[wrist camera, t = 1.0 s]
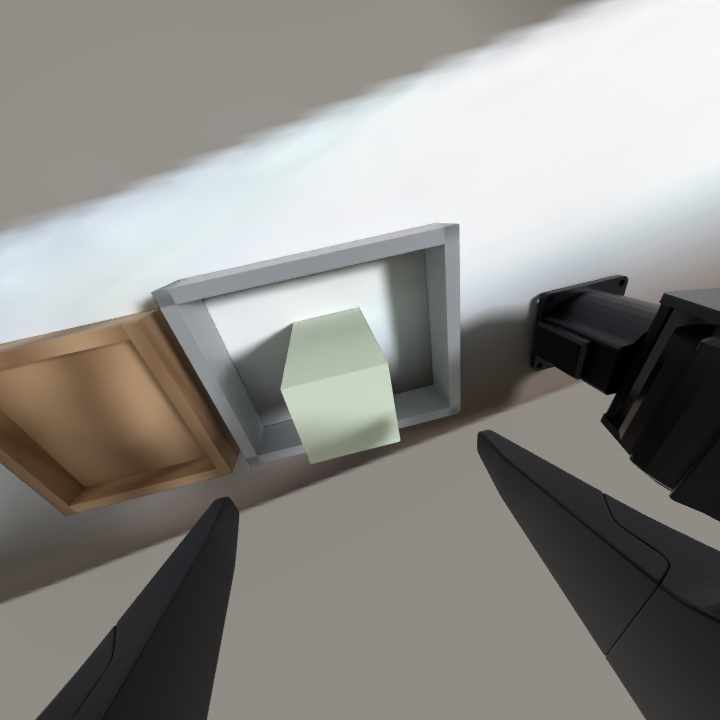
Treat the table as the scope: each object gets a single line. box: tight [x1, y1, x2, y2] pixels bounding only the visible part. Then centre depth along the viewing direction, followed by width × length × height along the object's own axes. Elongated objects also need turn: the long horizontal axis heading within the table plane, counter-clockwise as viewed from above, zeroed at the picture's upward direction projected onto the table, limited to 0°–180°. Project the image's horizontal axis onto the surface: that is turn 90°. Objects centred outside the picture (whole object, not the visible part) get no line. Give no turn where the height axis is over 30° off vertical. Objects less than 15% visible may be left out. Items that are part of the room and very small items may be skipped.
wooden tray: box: [0, 308, 240, 516], centre depth 18 cm, size 12×12×2 cm
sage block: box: [280, 307, 400, 464], centre depth 16 cm, size 4×4×8 cm
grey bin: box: [151, 223, 461, 467], centre depth 18 cm, size 16×13×3 cm
